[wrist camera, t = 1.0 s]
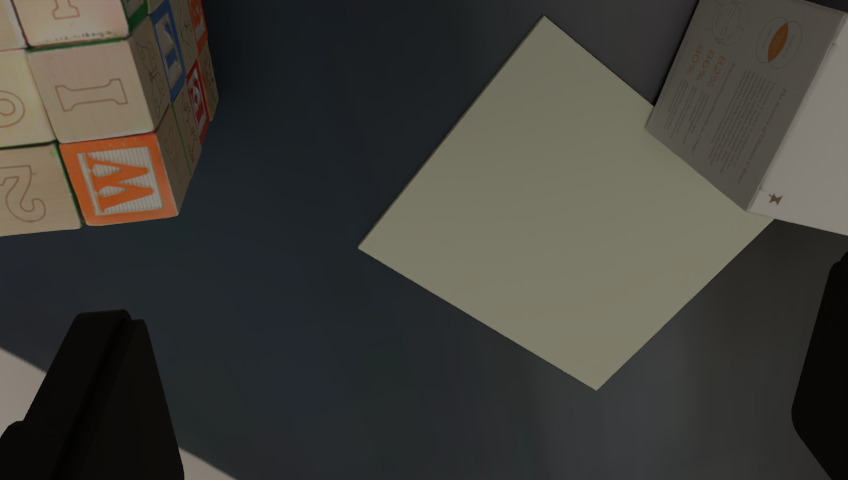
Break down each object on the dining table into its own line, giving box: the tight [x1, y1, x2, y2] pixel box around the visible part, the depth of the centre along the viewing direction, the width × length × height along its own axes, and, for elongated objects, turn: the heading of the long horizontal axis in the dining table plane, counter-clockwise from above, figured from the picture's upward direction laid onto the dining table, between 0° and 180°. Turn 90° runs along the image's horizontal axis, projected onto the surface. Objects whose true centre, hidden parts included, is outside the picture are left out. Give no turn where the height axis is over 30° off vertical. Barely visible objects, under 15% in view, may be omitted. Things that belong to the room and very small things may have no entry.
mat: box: [358, 15, 774, 390], centre depth 41 cm, size 15×18×1 cm
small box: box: [646, 0, 848, 235], centre depth 33 cm, size 8×6×10 cm
